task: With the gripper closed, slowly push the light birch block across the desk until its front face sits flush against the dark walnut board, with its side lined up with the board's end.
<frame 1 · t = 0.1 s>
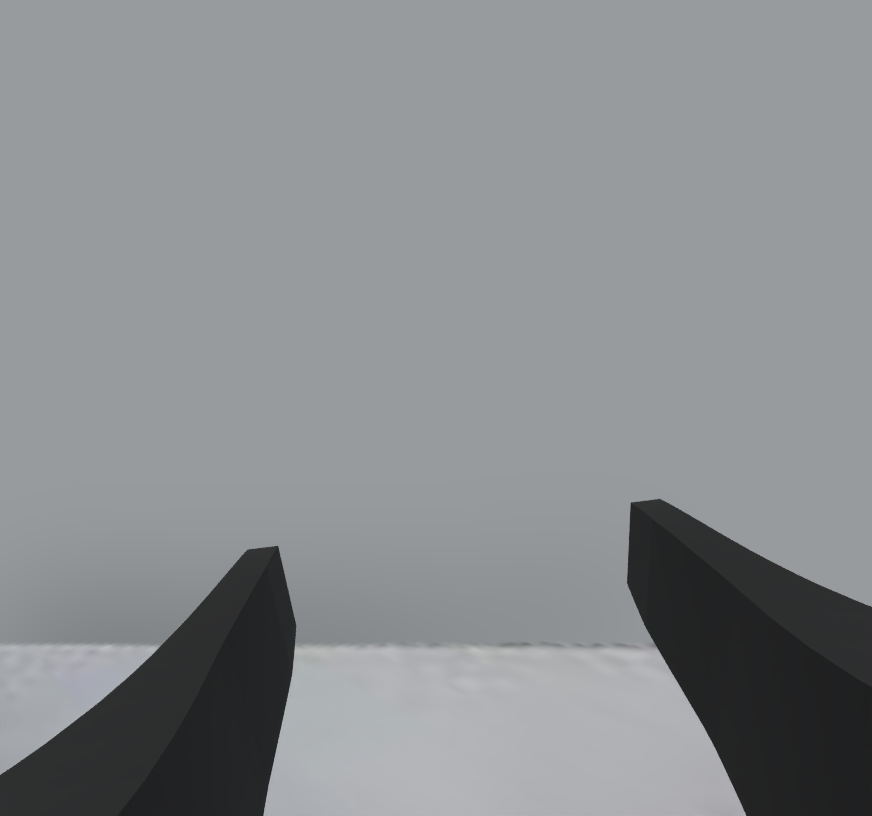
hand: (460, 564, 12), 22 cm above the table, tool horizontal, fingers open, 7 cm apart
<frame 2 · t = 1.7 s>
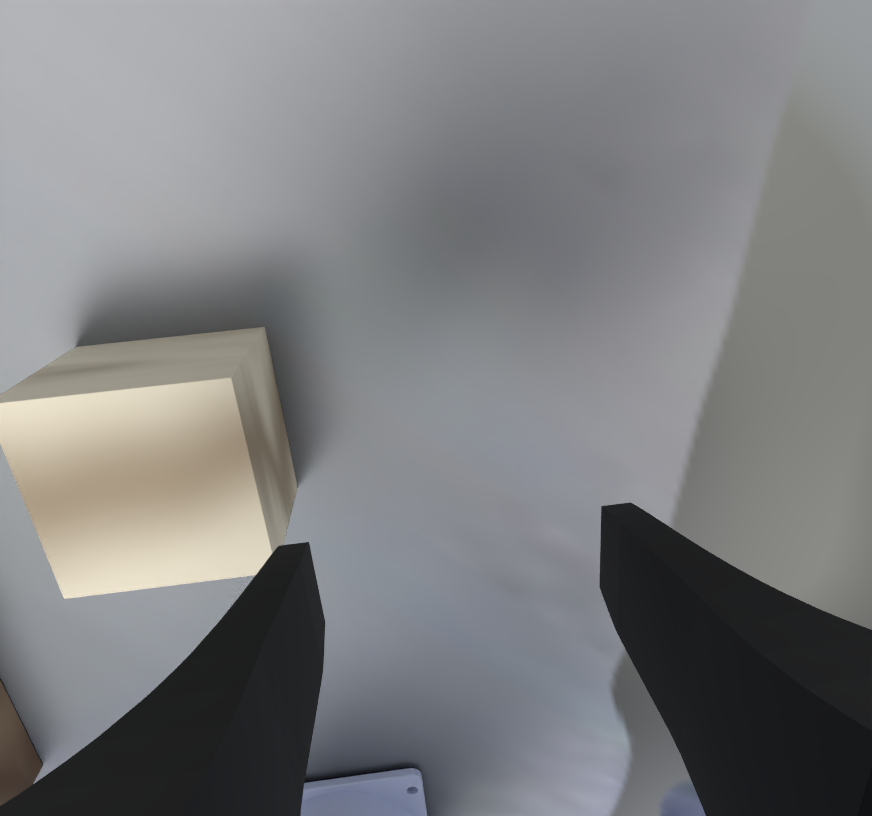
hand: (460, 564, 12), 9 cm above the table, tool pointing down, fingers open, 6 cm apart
birch block: (194, 419, 21), on the table
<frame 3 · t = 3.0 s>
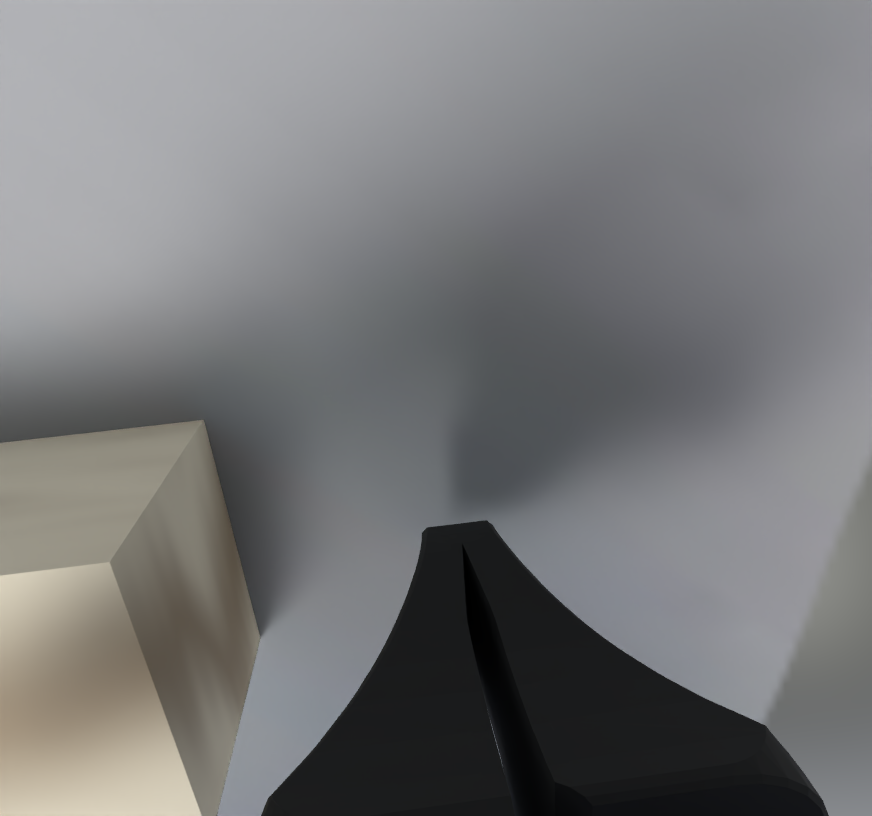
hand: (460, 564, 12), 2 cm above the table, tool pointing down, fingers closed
birch block: (104, 550, 14), on the table
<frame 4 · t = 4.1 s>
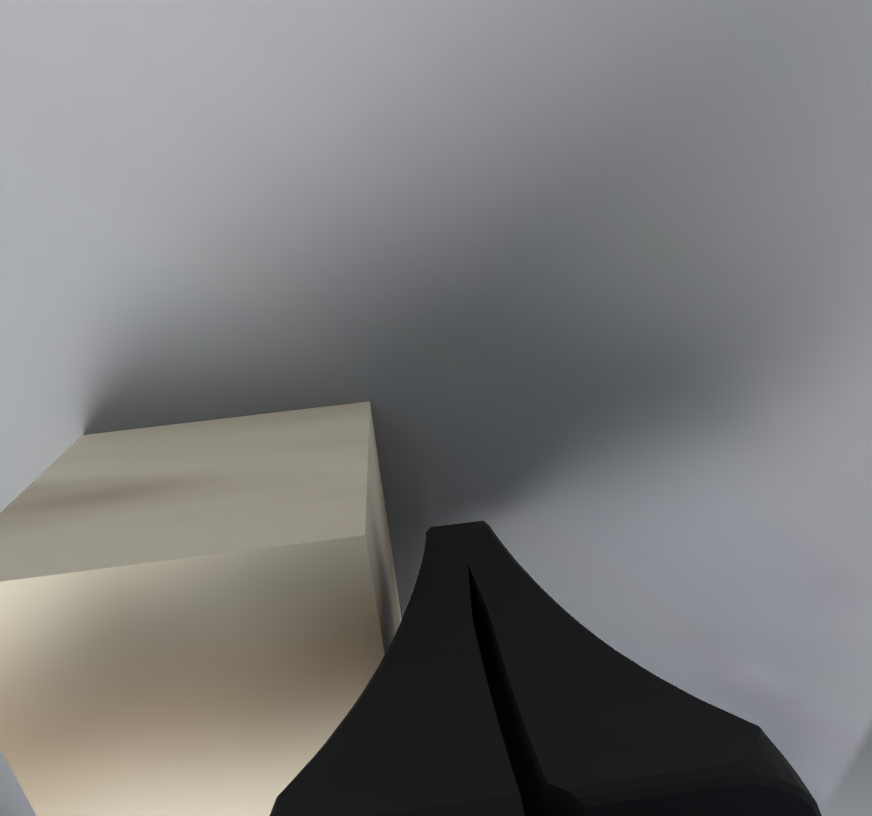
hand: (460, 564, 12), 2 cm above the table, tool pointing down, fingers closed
birch block: (257, 535, 14), on the table, touching gripper
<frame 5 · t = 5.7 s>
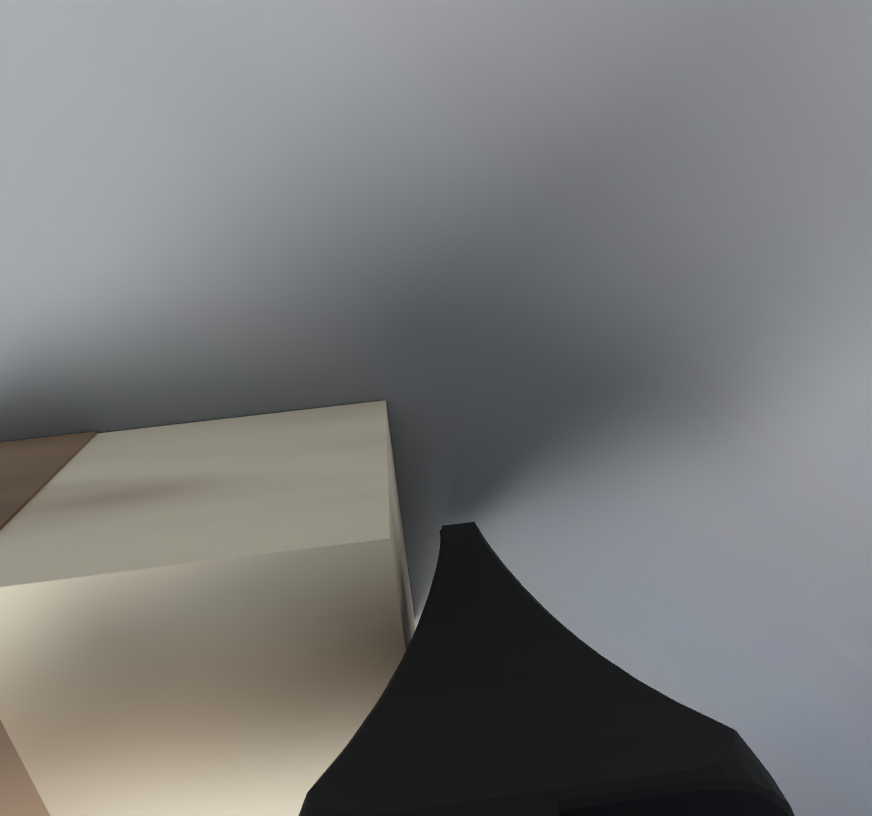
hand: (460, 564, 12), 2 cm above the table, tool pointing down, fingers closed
birch block: (270, 535, 14), on the table, touching gripper, walnut board
walnut board: (155, 743, 16), on the table
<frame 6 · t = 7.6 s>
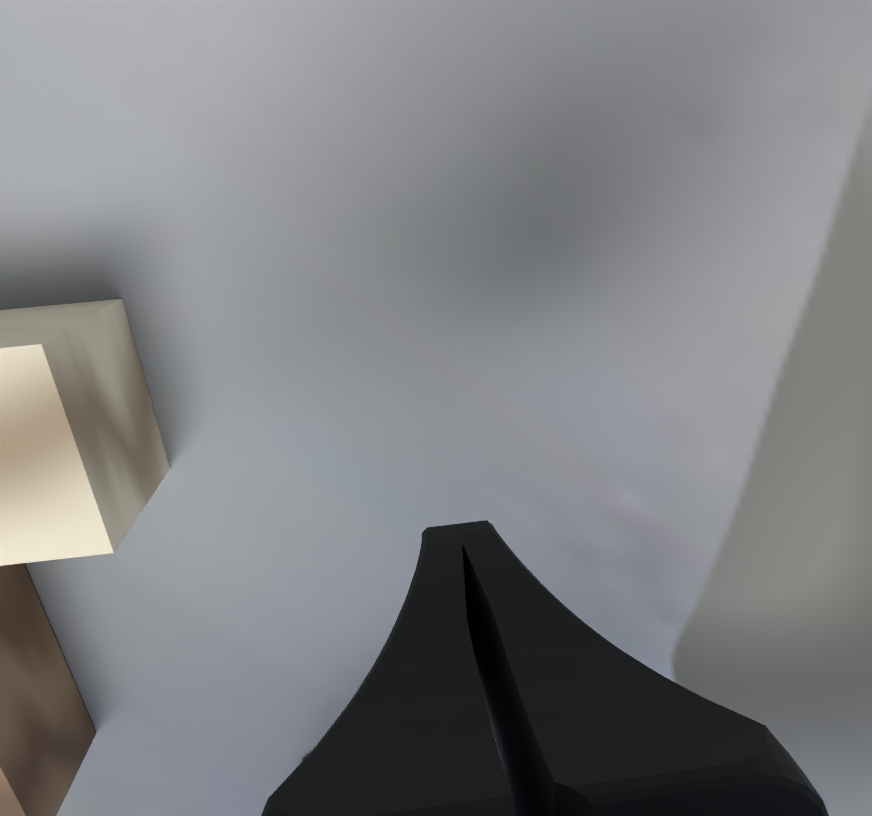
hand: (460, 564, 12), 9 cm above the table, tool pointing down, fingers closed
birch block: (56, 396, 20), on the table
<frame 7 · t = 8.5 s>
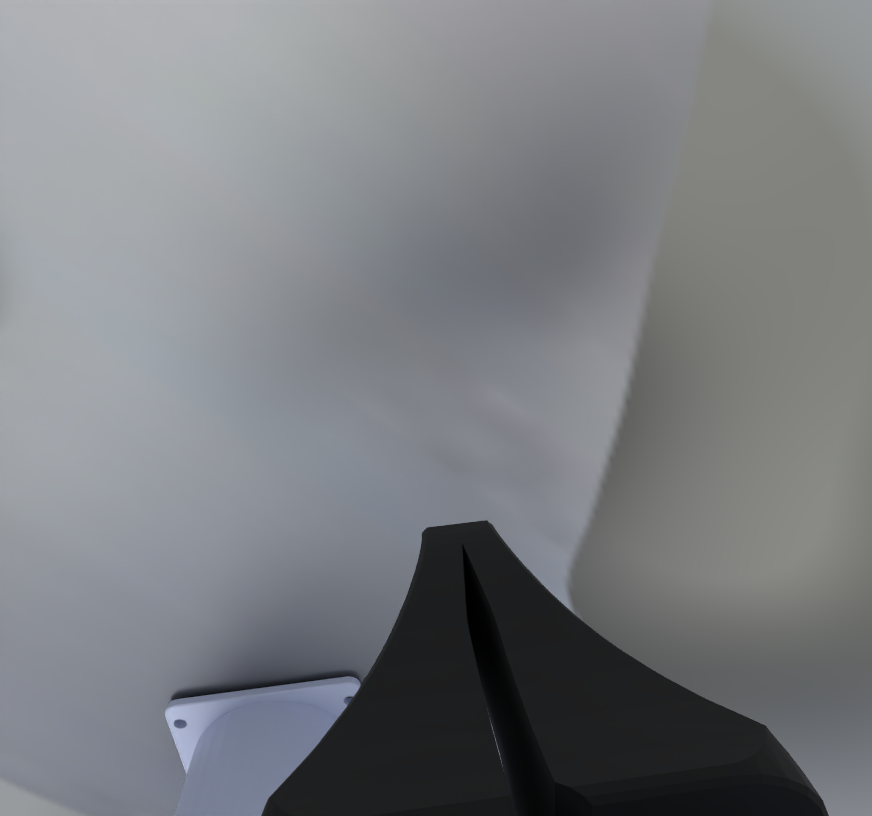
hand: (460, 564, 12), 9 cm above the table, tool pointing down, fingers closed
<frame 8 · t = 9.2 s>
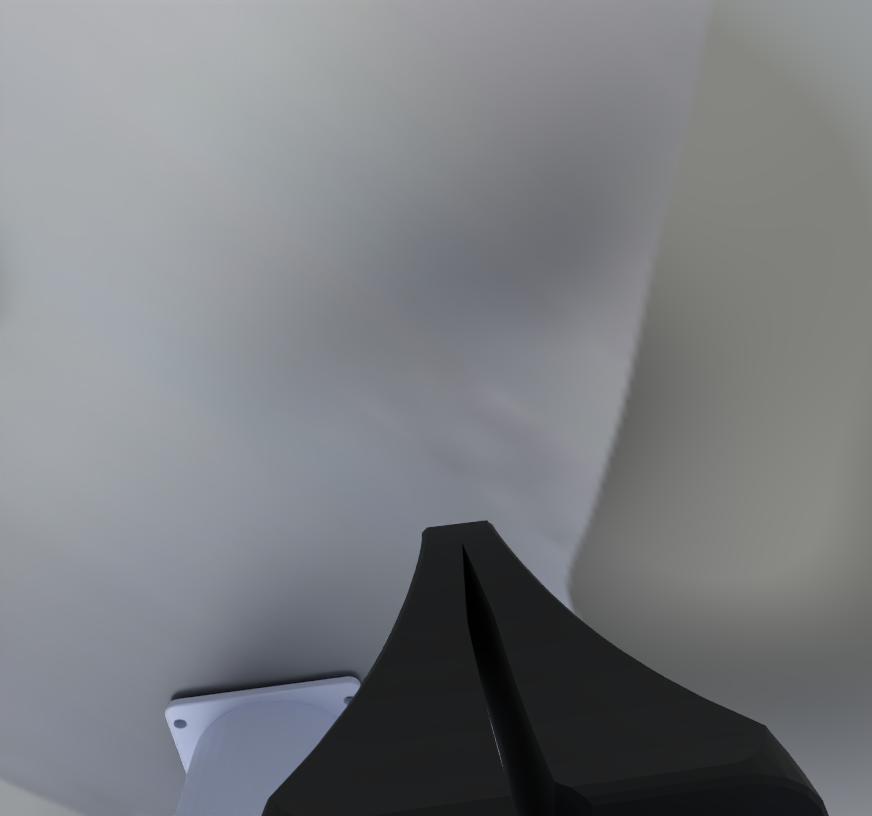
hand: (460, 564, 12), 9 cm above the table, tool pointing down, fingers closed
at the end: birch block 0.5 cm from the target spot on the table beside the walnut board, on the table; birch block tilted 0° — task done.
